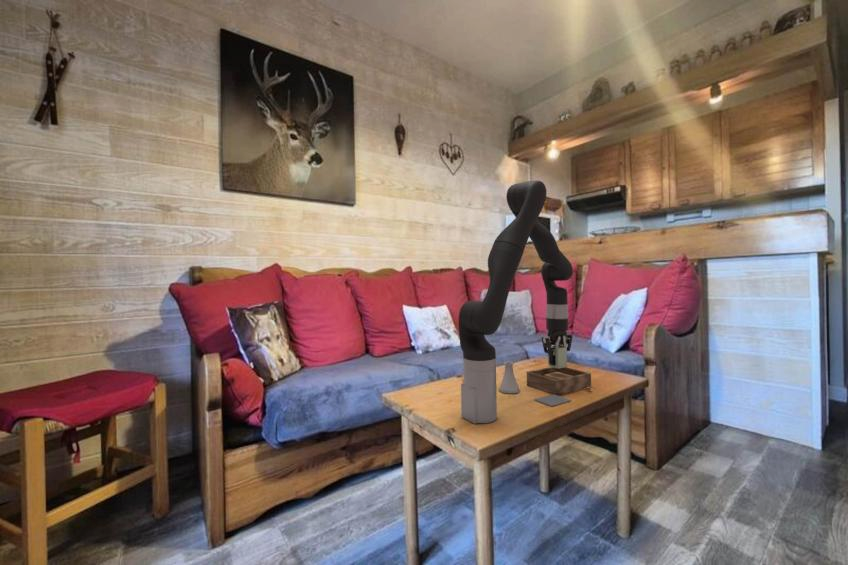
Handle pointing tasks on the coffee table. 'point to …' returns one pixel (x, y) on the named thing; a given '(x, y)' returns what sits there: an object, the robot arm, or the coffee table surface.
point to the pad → (552, 400)
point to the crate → (558, 380)
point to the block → (560, 357)
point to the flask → (509, 380)
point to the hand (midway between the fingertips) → (557, 364)
